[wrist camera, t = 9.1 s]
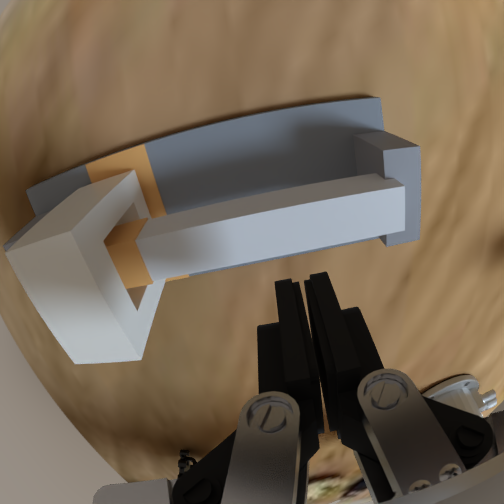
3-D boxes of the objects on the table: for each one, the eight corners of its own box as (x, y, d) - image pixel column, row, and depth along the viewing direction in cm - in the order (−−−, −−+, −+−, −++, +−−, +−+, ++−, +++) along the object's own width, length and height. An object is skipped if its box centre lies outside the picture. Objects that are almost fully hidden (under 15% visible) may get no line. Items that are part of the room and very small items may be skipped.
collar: (134, 169, 16) (70, 230, 10) (169, 266, 20) (141, 360, 13) (78, 188, 17) (4, 253, 10) (117, 277, 20) (75, 364, 13)
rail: (374, 96, 16) (430, 107, 10) (384, 230, 20) (426, 282, 15) (31, 186, 18) (-23, 225, 12) (80, 290, 22) (48, 346, 17)
